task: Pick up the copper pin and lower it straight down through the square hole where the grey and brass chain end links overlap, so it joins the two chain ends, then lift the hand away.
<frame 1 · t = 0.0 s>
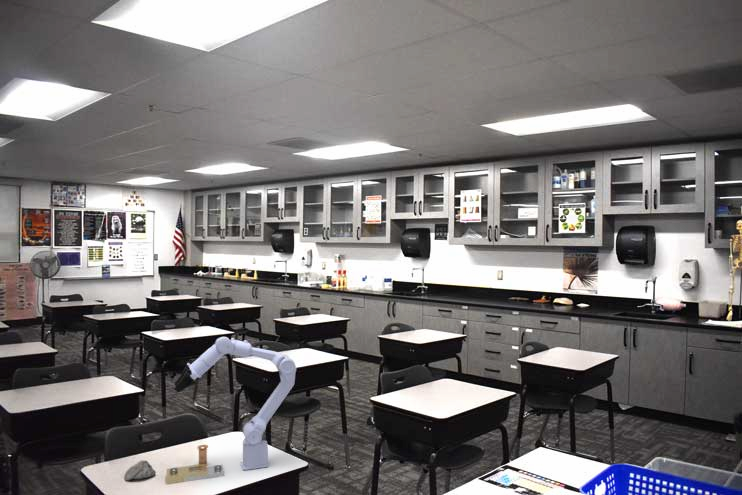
hand: (176, 388, 196), 32 cm above the table, tool tilted 50°, fingers open, 7 cm apart
gray rock: (140, 477, 195), on the table
chain ends: (195, 475, 195), on the table
pin: (202, 464, 206), on the table
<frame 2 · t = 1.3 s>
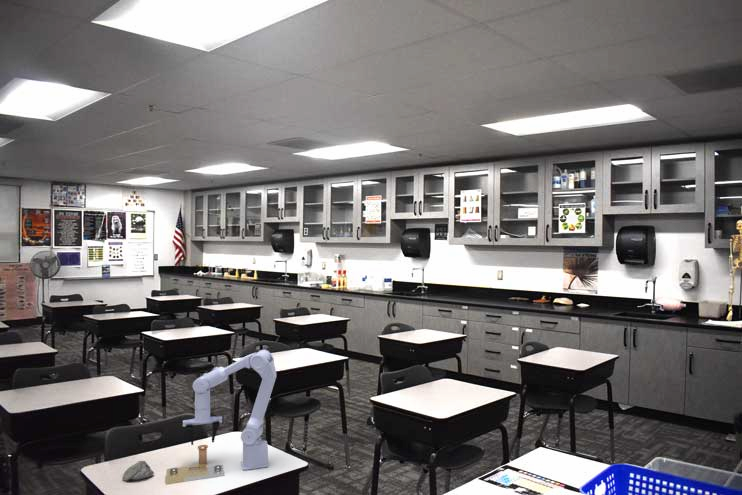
hand: (202, 442, 206), 8 cm above the table, tool pointing down, fingers open, 7 cm apart
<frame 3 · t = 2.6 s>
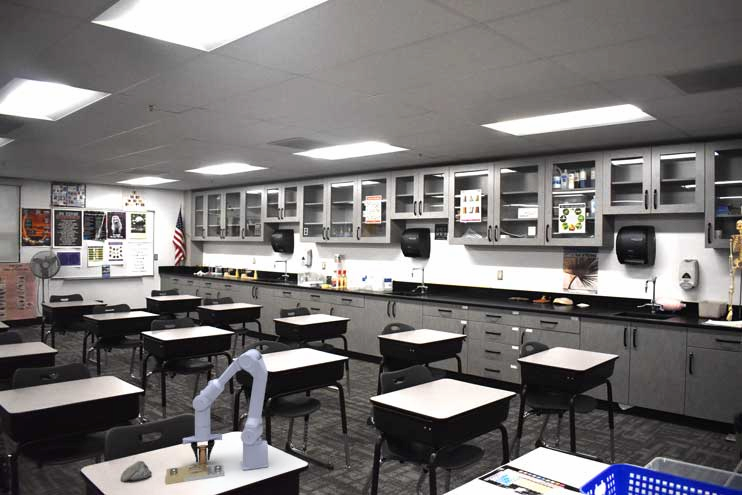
hand: (202, 460, 206), 2 cm above the table, tool pointing down, fingers closed on pin, 3 cm apart
pin: (202, 464, 206), on the table, touching gripper
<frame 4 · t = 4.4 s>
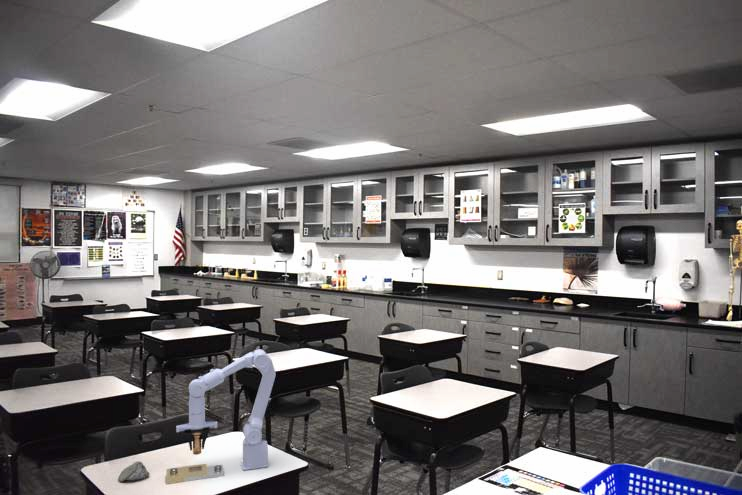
hand: (197, 448, 198), 9 cm above the table, tool pointing down, fingers closed on pin, 3 cm apart
pin: (197, 452, 198), point 7 cm above the table, touching gripper
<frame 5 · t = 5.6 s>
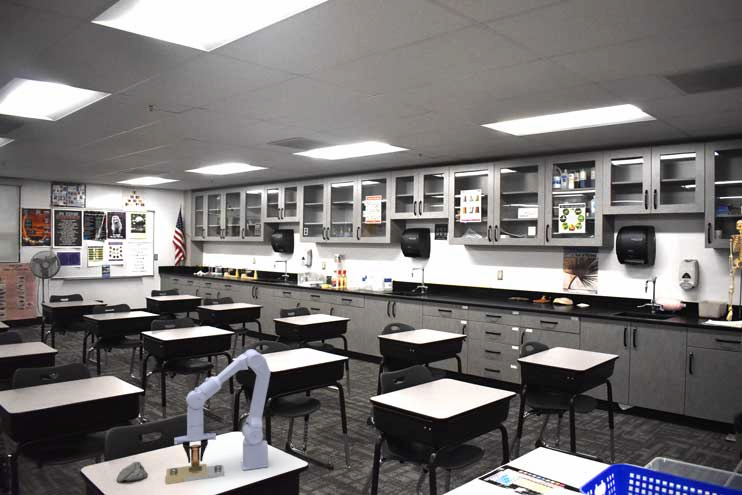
hand: (195, 461, 196), 5 cm above the table, tool pointing down, fingers closed on pin, 3 cm apart
pin: (195, 465, 196), point 4 cm above the table, touching gripper
when the fingers open (3 cm above the table, at t = 6.4 s): pin drops 1 cm, resting in chain ends.
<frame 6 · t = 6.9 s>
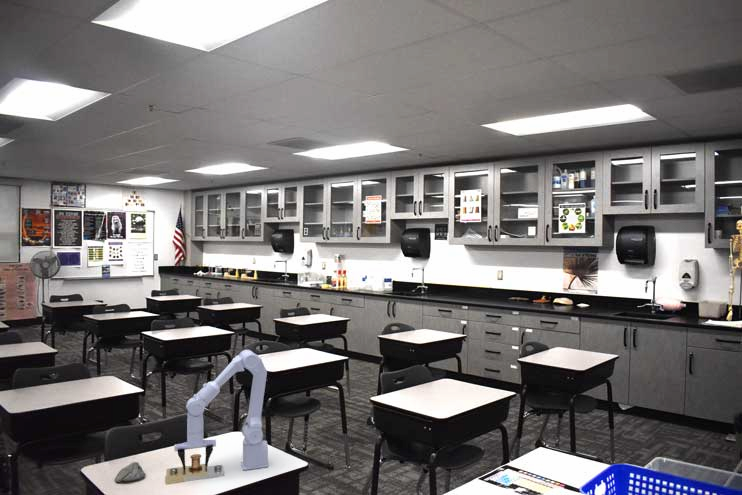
hand: (195, 467, 195), 3 cm above the table, tool pointing down, fingers open, 7 cm apart
pin: (195, 475, 196), resting in chain ends
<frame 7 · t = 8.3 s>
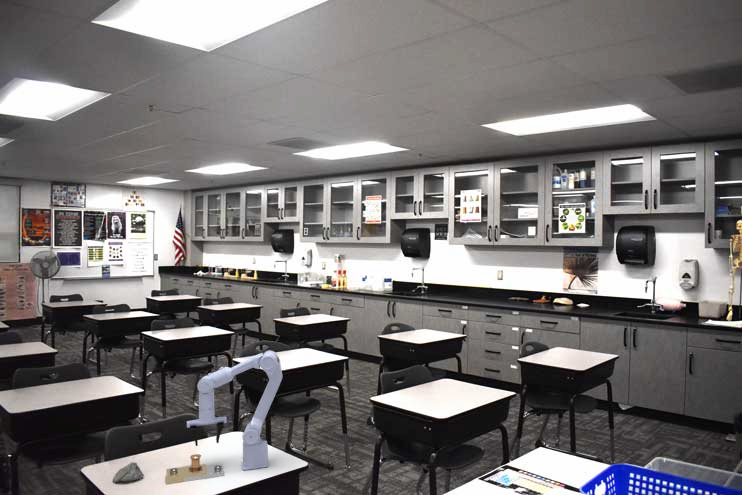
hand: (207, 443, 203), 9 cm above the table, tool pointing down, fingers open, 7 cm apart
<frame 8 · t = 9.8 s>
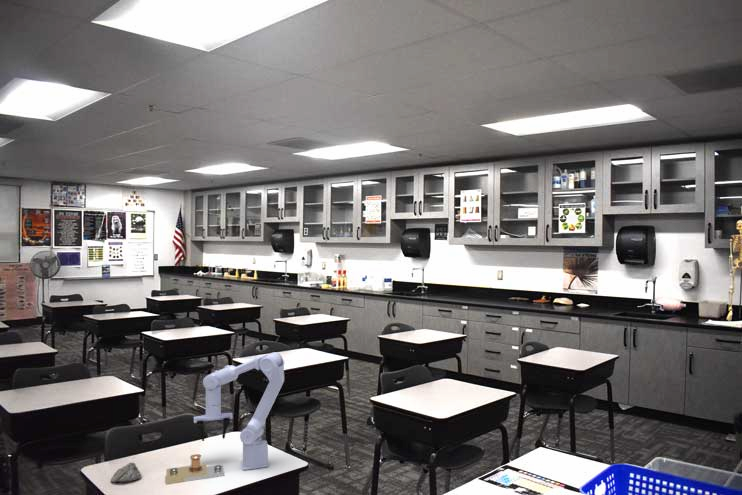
hand: (213, 438, 207), 9 cm above the table, tool pointing down, fingers open, 7 cm apart
at the end: pin 0.5 cm off-centre on the chain ends, point 0.0 cm above the chain ends's base; pin tilted 0°; the gripper is holding nothing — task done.
